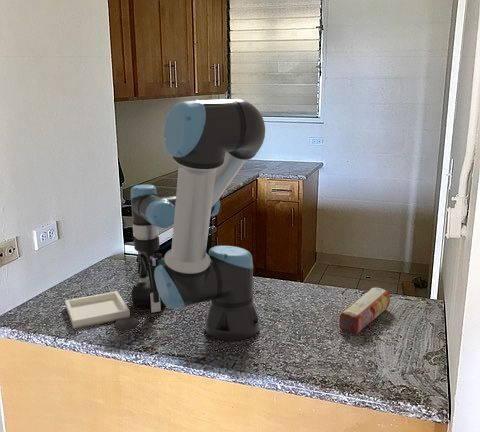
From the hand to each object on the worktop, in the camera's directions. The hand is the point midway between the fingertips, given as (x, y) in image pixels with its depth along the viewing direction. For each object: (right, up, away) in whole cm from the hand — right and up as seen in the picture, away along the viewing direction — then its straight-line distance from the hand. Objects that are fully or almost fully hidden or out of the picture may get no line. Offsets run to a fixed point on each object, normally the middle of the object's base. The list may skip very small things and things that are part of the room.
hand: (150, 304), depth 162 cm
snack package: (+64, -3, -12) cm, 65 cm away
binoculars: (+1, +5, +22) cm, 22 cm away
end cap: (0, -1, 0) cm, 1 cm away
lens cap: (-5, -4, -13) cm, 14 cm away
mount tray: (-15, -2, -5) cm, 16 cm away
